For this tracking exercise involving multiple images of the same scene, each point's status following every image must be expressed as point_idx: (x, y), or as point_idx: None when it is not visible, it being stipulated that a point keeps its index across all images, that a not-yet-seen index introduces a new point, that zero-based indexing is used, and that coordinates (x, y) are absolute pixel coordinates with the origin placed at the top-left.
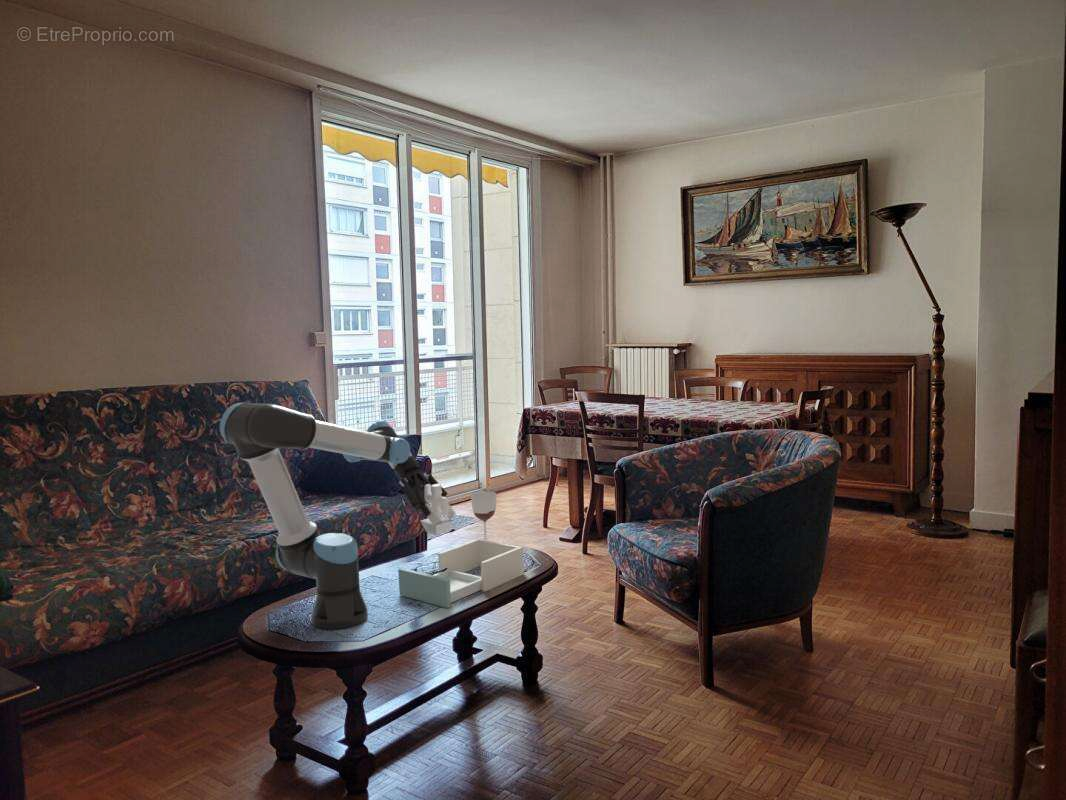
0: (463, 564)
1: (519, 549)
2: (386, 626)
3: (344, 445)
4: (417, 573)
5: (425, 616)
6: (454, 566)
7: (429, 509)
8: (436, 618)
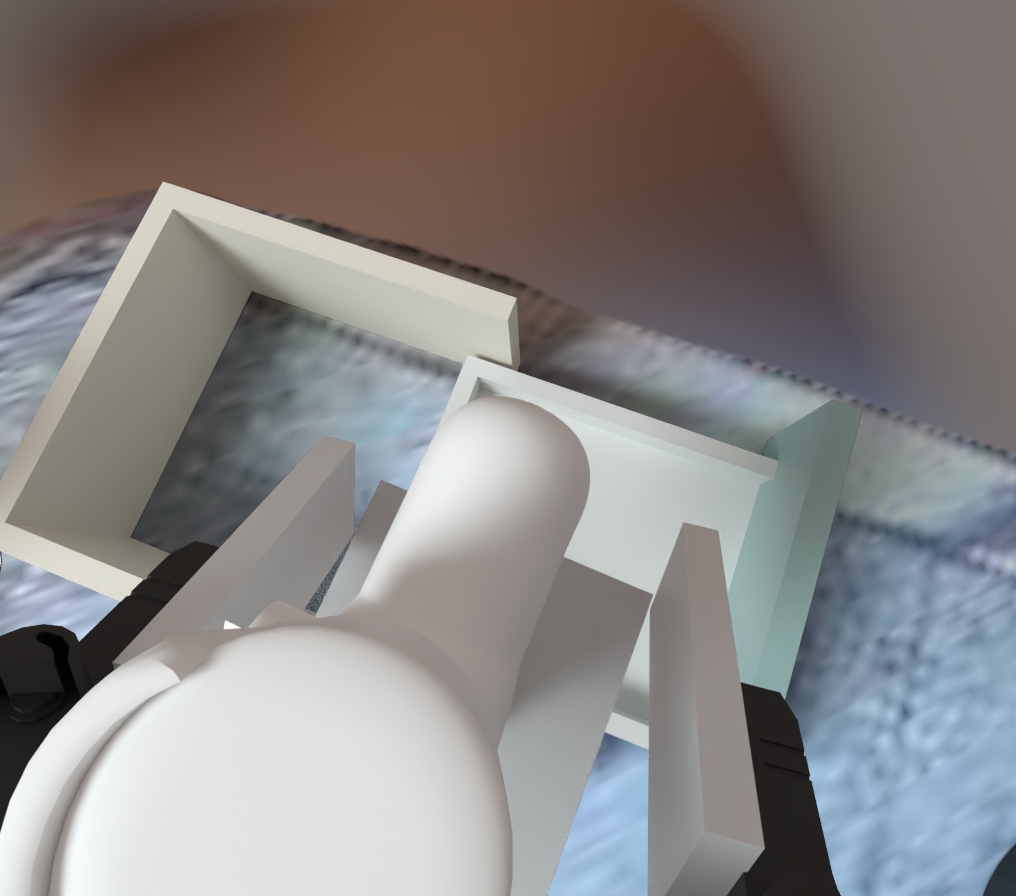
0: None
1: (196, 195)
2: None
3: None
4: (788, 666)
5: (912, 515)
6: None
7: (737, 718)
8: (916, 452)
